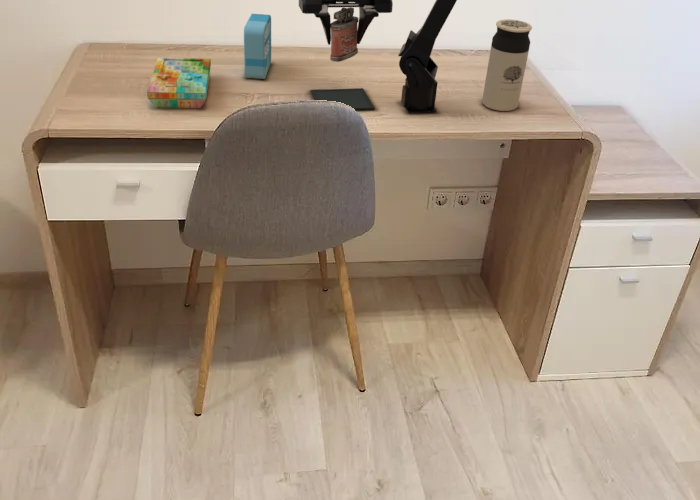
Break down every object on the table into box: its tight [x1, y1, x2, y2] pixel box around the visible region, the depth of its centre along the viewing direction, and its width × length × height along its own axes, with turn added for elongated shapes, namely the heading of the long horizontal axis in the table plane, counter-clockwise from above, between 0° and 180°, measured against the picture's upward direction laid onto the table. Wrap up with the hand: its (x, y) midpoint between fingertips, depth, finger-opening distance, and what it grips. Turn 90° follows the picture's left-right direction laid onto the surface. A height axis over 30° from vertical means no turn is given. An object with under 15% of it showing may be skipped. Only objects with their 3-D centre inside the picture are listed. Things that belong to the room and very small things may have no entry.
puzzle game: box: [146, 57, 212, 109], centre depth 161 cm, size 12×5×20 cm
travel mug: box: [481, 18, 533, 112], centre depth 162 cm, size 8×8×18 cm
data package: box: [243, 13, 272, 80], centre depth 172 cm, size 12×4×12 cm, turn 177°
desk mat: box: [310, 87, 376, 112], centre depth 163 cm, size 12×11×1 cm
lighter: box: [329, 7, 359, 63], centre depth 157 cm, size 8×3×10 cm, turn 145°
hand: (343, 43), depth 158 cm, fingers closed on lighter, 6 cm apart
